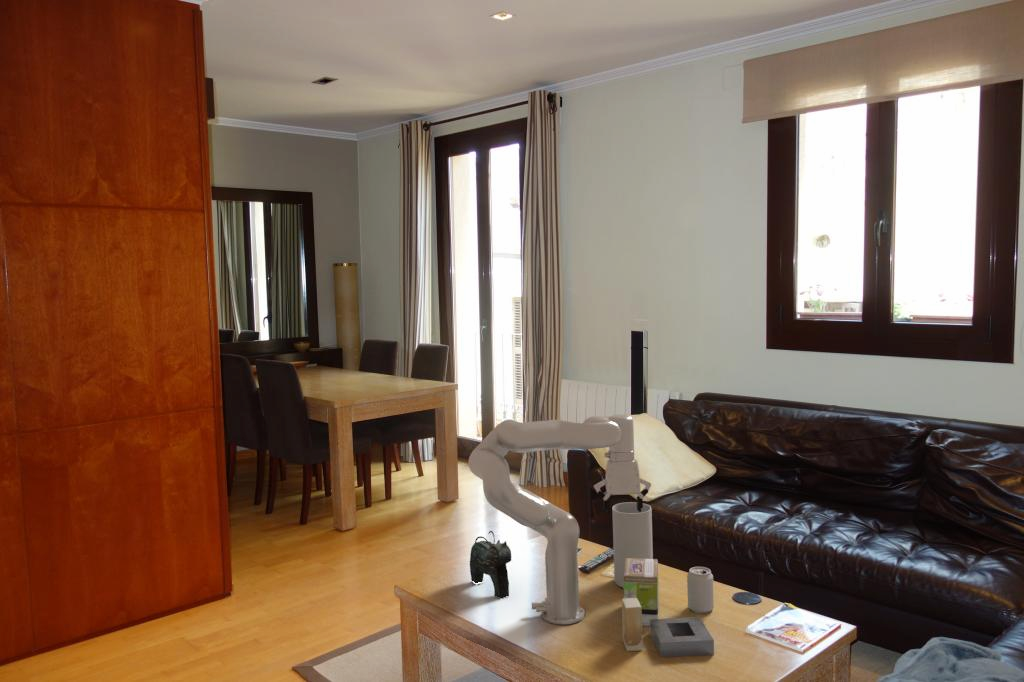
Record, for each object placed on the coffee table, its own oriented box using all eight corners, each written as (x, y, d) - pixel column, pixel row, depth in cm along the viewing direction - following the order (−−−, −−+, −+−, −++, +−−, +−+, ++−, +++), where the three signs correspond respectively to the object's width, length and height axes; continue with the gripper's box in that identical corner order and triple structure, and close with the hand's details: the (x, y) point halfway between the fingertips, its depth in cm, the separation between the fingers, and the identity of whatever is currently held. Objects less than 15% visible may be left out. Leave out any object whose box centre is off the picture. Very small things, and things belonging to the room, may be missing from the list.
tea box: (659, 627, 222) (657, 576, 221) (623, 625, 224) (622, 575, 223) (659, 605, 237) (657, 557, 236) (625, 603, 239) (624, 556, 238)
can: (714, 615, 229) (713, 575, 228) (688, 613, 230) (687, 574, 229) (713, 604, 236) (712, 565, 235) (687, 603, 237) (686, 564, 237)
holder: (660, 657, 205) (660, 642, 204) (650, 633, 219) (649, 619, 218) (714, 654, 205) (713, 640, 205) (699, 630, 219) (699, 616, 219)
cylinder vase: (659, 579, 256) (657, 505, 254) (644, 593, 246) (642, 515, 244) (624, 573, 263) (622, 500, 261) (608, 586, 253) (605, 510, 251)
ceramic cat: (515, 597, 247) (512, 535, 246) (497, 602, 244) (495, 540, 242) (481, 578, 264) (479, 520, 262) (465, 583, 260) (462, 524, 258)
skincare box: (622, 641, 215) (621, 597, 214) (638, 640, 215) (637, 596, 214) (626, 652, 208) (625, 607, 207) (643, 651, 209) (641, 606, 208)
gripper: (594, 460, 233) (596, 516, 234) (652, 457, 233) (654, 513, 235) (591, 454, 240) (593, 509, 242) (647, 451, 241) (649, 506, 242)
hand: (623, 511), depth 238 cm, fingers open, 9 cm apart
